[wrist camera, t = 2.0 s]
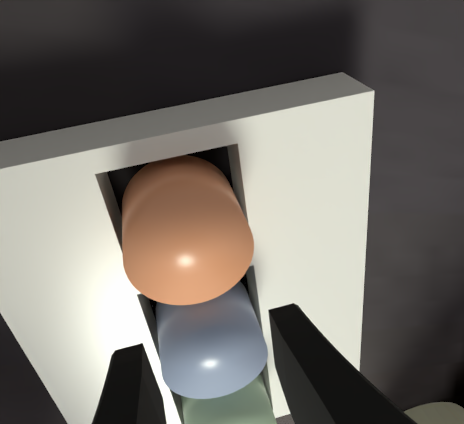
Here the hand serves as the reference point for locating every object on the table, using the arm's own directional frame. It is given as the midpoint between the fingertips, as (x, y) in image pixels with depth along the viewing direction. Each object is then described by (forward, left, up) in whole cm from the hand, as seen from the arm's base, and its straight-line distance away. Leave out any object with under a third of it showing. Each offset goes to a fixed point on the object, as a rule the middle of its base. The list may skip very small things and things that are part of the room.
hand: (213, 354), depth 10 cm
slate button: (-5, 0, -7) cm, 9 cm away
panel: (-5, 0, -8) cm, 10 cm away
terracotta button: (0, 0, -7) cm, 7 cm away
